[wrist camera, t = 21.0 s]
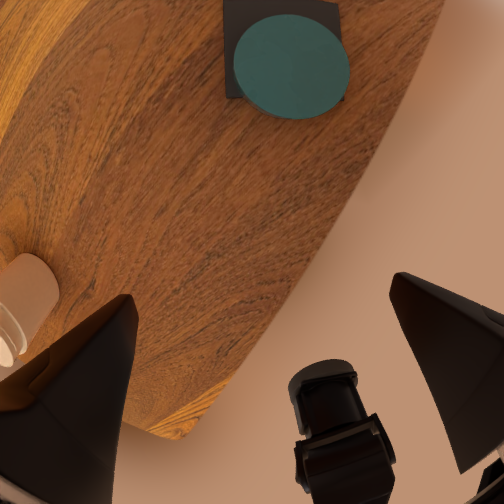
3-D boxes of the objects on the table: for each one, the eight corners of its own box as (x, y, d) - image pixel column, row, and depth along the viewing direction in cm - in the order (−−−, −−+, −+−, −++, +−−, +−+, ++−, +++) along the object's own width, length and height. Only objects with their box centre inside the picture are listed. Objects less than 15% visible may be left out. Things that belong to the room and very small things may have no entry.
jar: (46, 250, 20) (-11, 310, 12) (68, 309, 23) (30, 376, 14) (5, 254, 19) (-47, 305, 11) (26, 307, 22) (-13, 364, 14)
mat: (335, 6, 13) (338, 3, 13) (341, 101, 17) (344, 100, 16) (223, -2, 13) (223, -5, 12) (225, 98, 16) (225, 97, 16)
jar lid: (232, 22, 13) (233, 10, 11) (334, 31, 14) (347, 22, 12) (233, 119, 16) (234, 118, 14) (336, 122, 17) (349, 123, 15)
